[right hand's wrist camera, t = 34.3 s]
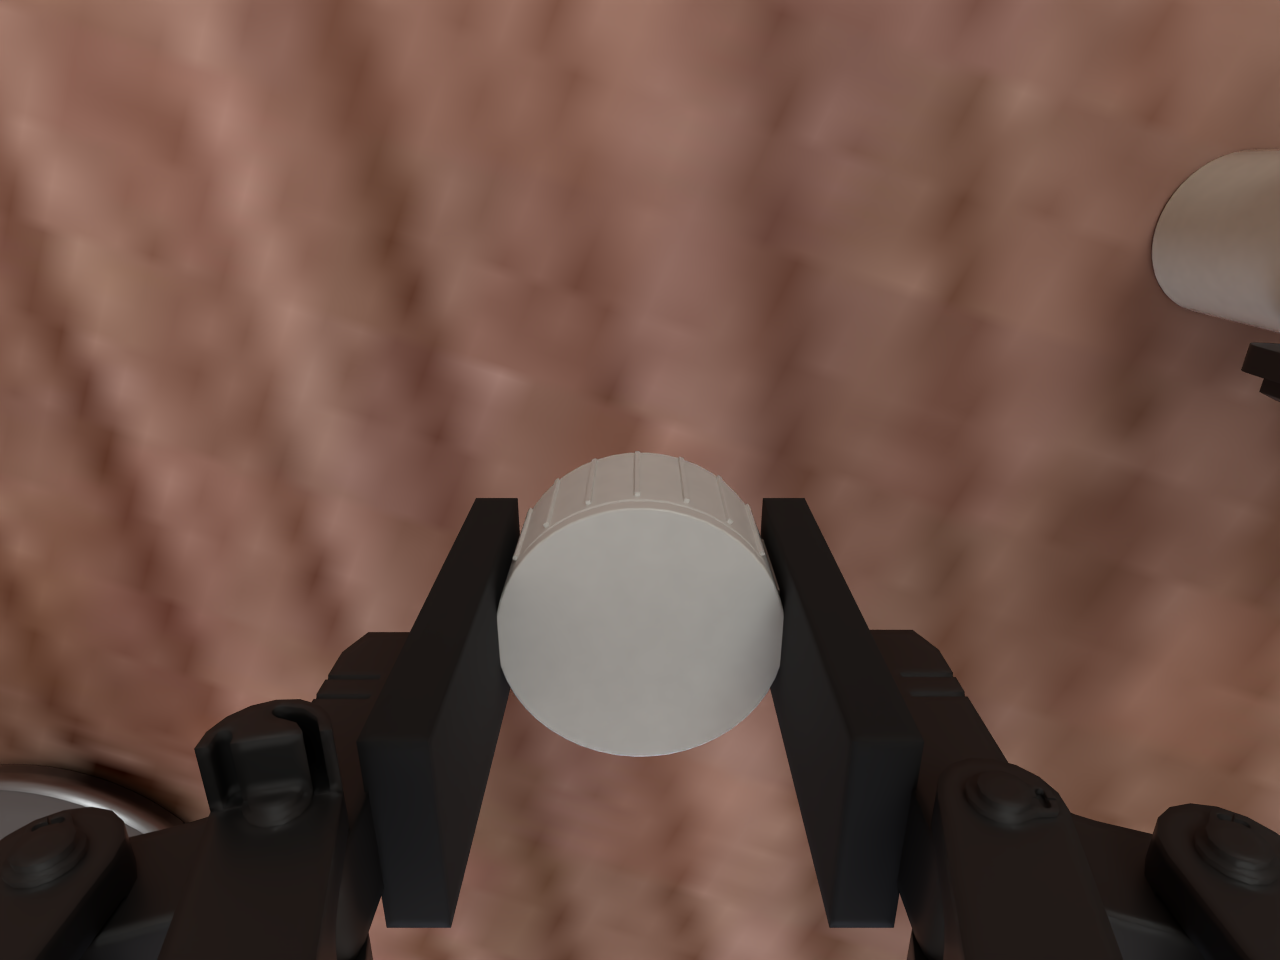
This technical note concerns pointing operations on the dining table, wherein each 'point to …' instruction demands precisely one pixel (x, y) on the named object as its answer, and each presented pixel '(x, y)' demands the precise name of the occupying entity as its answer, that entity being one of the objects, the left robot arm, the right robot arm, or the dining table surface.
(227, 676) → the dining table surface
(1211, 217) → the bottle
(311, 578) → the dining table surface
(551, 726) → the cap
